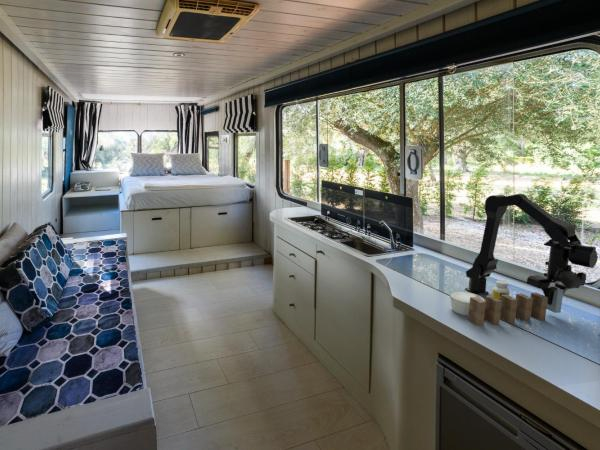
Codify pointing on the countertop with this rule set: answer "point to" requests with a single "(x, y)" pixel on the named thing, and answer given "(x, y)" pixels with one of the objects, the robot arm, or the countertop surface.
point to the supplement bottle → (500, 289)
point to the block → (556, 301)
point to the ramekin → (462, 302)
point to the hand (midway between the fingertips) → (552, 304)
